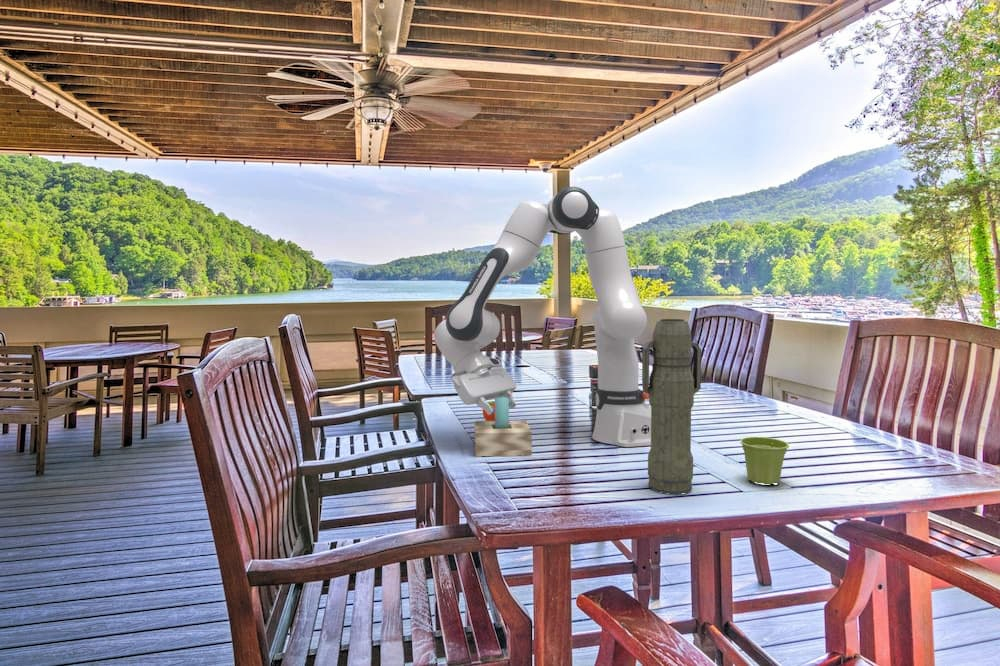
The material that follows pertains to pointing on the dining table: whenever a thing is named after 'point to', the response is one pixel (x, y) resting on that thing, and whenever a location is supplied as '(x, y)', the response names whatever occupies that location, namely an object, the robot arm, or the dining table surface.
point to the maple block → (503, 439)
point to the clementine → (491, 416)
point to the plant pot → (764, 458)
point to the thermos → (671, 404)
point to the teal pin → (501, 413)
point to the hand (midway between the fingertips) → (503, 409)
